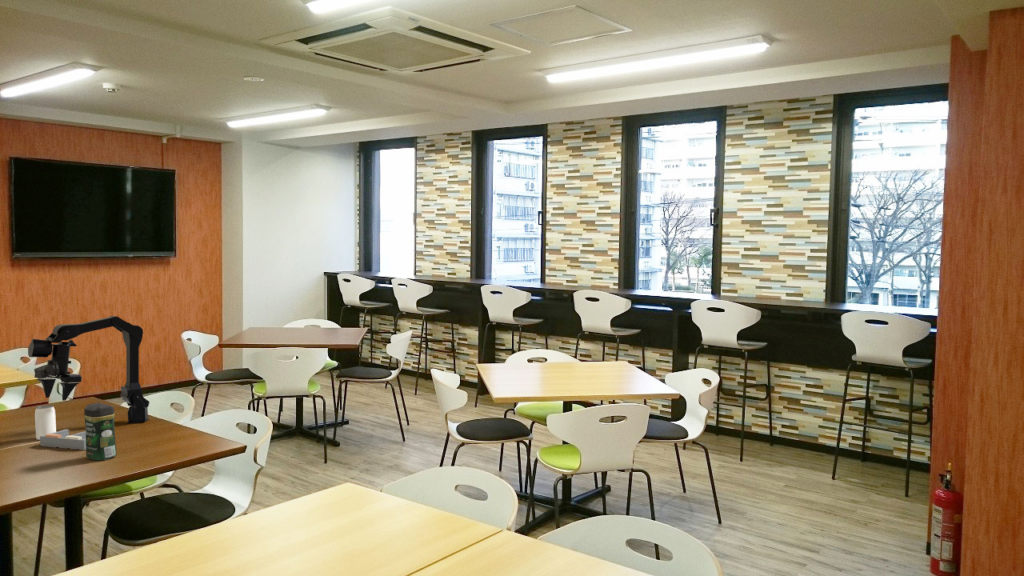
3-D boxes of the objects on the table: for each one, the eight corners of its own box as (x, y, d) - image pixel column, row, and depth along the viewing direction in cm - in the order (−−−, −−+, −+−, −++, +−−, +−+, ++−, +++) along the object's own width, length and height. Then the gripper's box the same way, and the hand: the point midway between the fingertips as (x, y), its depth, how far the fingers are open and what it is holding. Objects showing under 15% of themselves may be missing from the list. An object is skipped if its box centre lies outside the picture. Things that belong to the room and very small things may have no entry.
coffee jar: (82, 458, 251) (79, 404, 250) (106, 452, 258) (103, 399, 256) (96, 462, 246) (93, 407, 244) (120, 457, 252) (118, 403, 251)
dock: (66, 438, 277) (65, 427, 277) (108, 442, 271) (108, 430, 271) (40, 445, 267) (39, 434, 267) (84, 450, 261) (83, 438, 261)
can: (49, 440, 275) (47, 408, 274) (32, 440, 275) (30, 408, 275) (60, 435, 282) (58, 404, 281) (43, 435, 282) (41, 404, 281)
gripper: (22, 355, 277) (18, 397, 276) (56, 360, 270) (52, 403, 269) (51, 355, 287) (46, 395, 287) (84, 360, 280) (80, 401, 279)
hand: (55, 399), depth 280 cm, fingers open, 9 cm apart
